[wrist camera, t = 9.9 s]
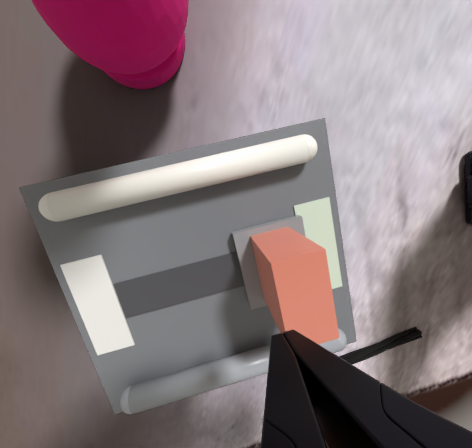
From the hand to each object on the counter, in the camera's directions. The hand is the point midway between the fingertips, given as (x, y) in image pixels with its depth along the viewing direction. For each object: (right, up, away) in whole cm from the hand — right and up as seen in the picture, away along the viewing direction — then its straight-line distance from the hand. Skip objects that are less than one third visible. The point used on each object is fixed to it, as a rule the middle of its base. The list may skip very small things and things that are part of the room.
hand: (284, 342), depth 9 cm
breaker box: (-4, +2, +11) cm, 12 cm away
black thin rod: (+10, -8, +15) cm, 20 cm away
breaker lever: (+1, +2, +7) cm, 7 cm away
